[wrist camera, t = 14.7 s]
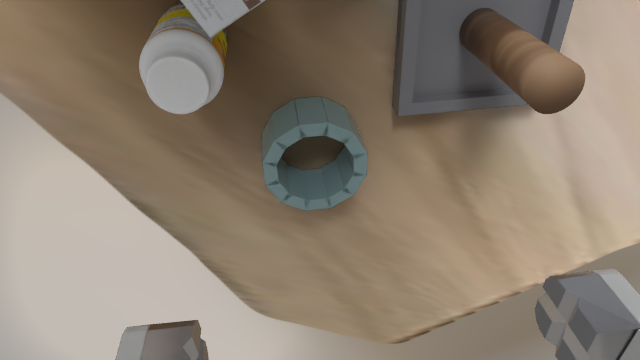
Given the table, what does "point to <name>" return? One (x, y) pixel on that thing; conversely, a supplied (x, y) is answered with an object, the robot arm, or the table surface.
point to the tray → (460, 53)
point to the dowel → (522, 61)
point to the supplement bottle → (182, 62)
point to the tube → (313, 184)
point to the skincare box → (218, 12)
